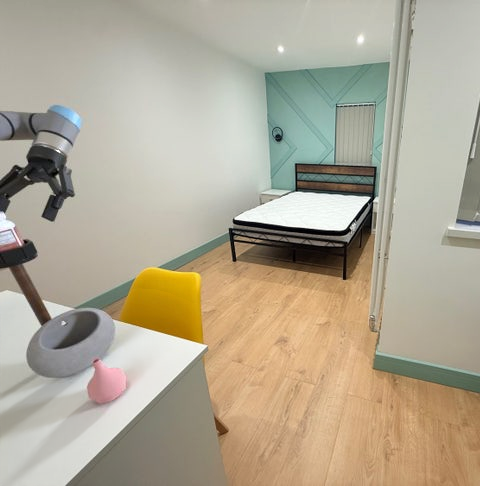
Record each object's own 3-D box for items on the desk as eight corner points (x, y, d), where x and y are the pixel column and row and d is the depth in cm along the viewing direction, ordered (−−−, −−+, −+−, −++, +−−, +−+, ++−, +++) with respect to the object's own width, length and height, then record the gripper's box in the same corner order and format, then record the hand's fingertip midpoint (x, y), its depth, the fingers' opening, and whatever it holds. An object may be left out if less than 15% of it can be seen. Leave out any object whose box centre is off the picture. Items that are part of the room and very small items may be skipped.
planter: (51, 398, 66) (16, 342, 59) (40, 387, 70) (5, 332, 62) (129, 348, 82) (109, 299, 74) (117, 341, 85) (96, 292, 77)
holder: (-26, 271, 60) (-35, 256, 59) (6, 255, 68) (-2, 241, 66) (21, 266, 62) (12, 251, 61) (46, 251, 70) (39, 238, 68)
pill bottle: (6, 253, 67) (-16, 211, 62) (36, 250, 68) (15, 209, 64) (-16, 264, 61) (-43, 219, 57) (16, 261, 63) (-7, 217, 58)
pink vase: (84, 408, 64) (65, 373, 59) (110, 381, 71) (94, 347, 66) (115, 410, 64) (97, 375, 59) (137, 382, 71) (123, 349, 66)
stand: (42, 372, 74) (-21, 270, 61) (59, 351, 81) (7, 256, 68) (73, 366, 76) (19, 266, 62) (88, 346, 82) (42, 252, 69)
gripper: (104, 161, 79) (82, 225, 71) (18, 162, 78) (-13, 226, 70) (83, 143, 72) (56, 211, 64) (-11, 144, 71) (-50, 213, 63)
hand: (20, 219), depth 67 cm, fingers open, 13 cm apart
